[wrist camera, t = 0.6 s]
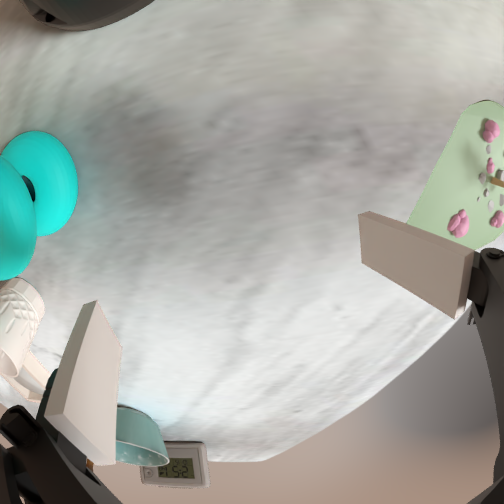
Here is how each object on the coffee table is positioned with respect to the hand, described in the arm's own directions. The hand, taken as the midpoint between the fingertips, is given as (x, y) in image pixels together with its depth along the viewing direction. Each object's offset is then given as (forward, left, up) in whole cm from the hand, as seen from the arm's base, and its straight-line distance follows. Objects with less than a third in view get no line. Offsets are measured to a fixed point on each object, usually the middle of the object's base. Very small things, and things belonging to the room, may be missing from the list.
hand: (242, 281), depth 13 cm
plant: (+5, +27, -13) cm, 31 cm away
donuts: (-7, -17, -13) cm, 22 cm away
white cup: (+5, -29, -13) cm, 32 cm away
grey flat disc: (+20, -44, -11) cm, 49 cm away
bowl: (+35, -29, -13) cm, 48 cm away
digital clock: (+50, -27, -13) cm, 59 cm away
